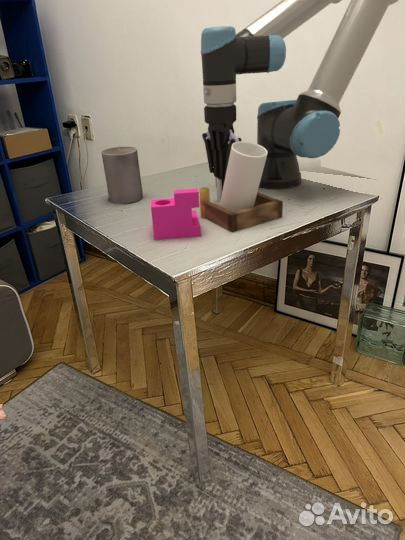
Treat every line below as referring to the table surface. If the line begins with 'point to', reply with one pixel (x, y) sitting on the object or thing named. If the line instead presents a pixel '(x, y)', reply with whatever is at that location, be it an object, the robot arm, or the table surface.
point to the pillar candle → (122, 174)
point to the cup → (243, 175)
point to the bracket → (176, 215)
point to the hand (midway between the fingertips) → (222, 201)
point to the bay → (240, 212)
